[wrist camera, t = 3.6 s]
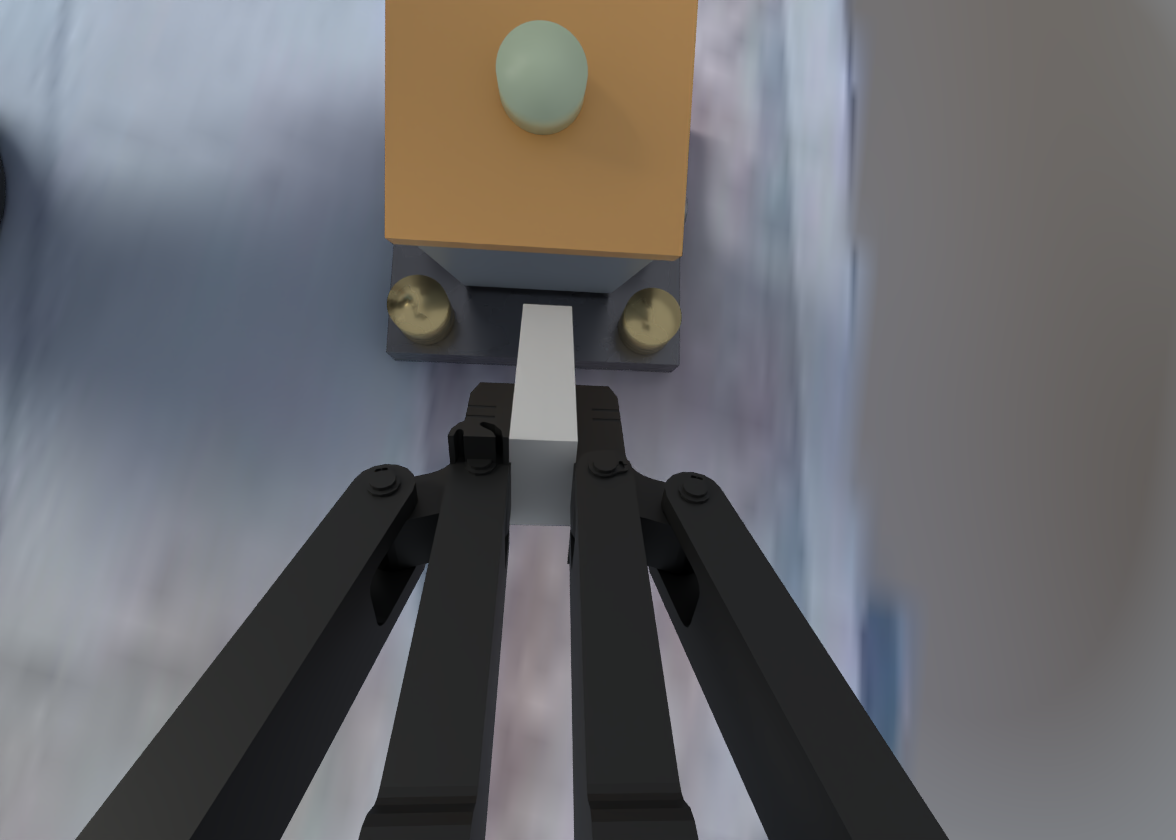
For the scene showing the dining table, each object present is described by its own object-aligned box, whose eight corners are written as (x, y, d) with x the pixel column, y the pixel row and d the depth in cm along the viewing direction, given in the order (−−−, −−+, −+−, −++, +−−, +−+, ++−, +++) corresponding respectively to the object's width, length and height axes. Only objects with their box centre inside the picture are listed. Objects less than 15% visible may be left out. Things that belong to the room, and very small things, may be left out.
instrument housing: (615, 299, 32) (692, 248, 16) (458, 290, 31) (372, 229, 15) (626, 83, 31) (721, -210, 15) (462, 68, 30) (372, -257, 14)
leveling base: (670, 372, 34) (712, 336, 26) (395, 360, 33) (350, 319, 25) (672, 122, 36) (711, 19, 28) (412, 101, 35) (376, -14, 27)
